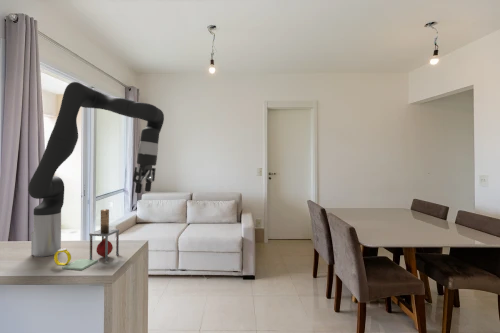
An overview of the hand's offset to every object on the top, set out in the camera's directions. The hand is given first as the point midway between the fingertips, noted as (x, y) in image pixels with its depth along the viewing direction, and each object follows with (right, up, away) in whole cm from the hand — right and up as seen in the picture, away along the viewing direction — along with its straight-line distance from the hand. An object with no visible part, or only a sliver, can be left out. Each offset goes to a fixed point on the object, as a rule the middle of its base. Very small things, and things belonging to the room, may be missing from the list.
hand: (142, 192), depth 103 cm
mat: (-21, -27, -7) cm, 35 cm away
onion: (-16, -27, +1) cm, 32 cm away
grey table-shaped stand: (-16, -27, +1) cm, 32 cm away
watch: (-28, -27, -7) cm, 40 cm away
